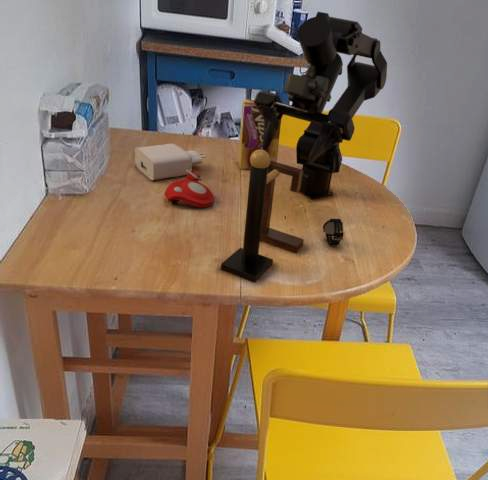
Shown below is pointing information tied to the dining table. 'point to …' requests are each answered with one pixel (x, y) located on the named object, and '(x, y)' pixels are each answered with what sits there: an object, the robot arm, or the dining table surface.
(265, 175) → the coat rack
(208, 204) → the tracker holder
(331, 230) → the smartwatch
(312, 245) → the dining table surface
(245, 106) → the candy box
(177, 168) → the charger
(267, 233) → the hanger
